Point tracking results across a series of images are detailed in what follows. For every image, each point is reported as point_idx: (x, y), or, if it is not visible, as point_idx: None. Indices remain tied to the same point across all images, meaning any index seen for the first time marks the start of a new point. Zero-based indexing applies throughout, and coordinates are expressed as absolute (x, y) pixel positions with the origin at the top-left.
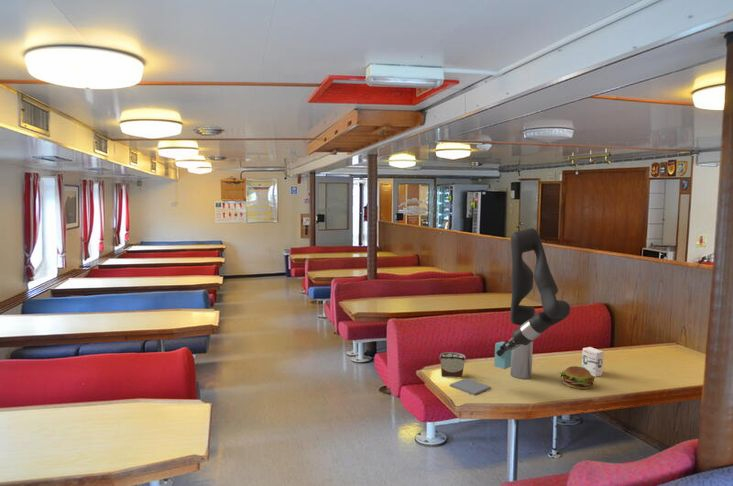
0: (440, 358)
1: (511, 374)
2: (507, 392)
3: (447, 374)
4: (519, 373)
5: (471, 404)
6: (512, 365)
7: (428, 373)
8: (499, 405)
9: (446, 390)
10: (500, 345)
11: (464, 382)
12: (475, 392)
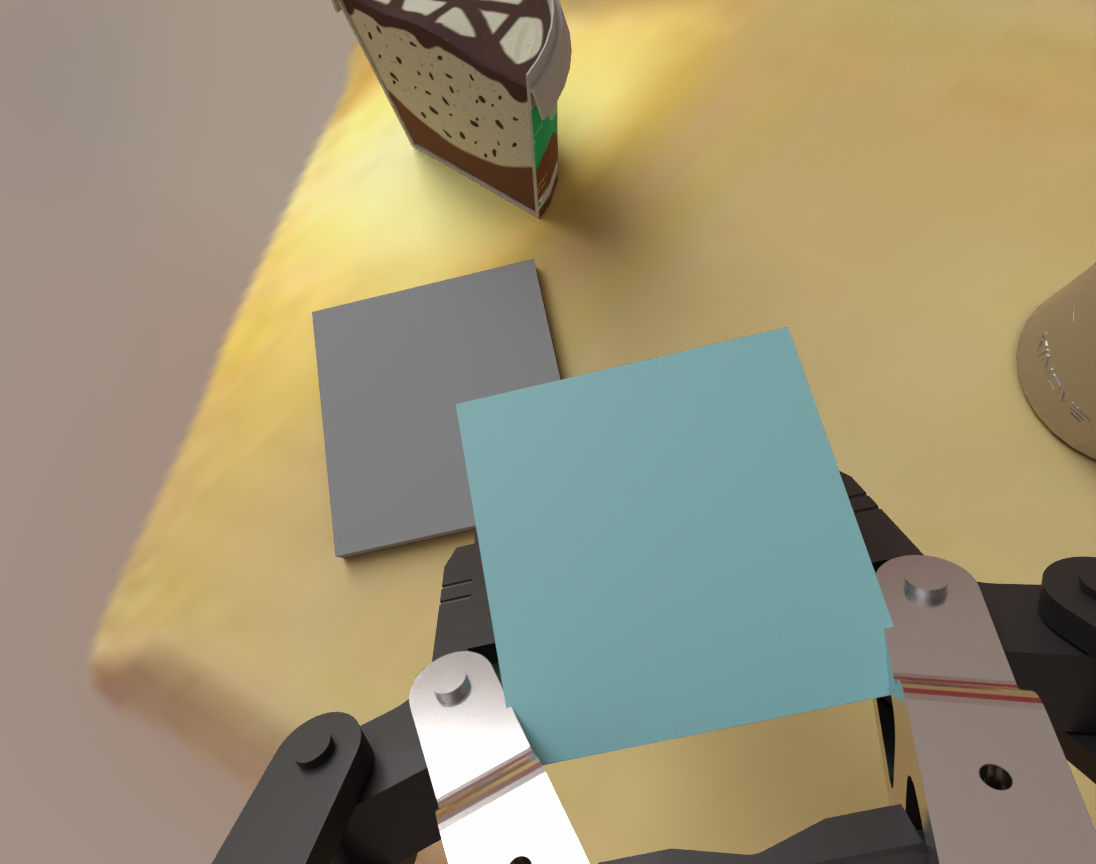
0: (340, 4)
1: (1024, 340)
2: None
3: (441, 150)
4: (1086, 415)
5: (173, 703)
6: (1091, 302)
7: (370, 69)
8: None
9: (233, 378)
10: (489, 573)
11: (446, 328)
12: (360, 544)
